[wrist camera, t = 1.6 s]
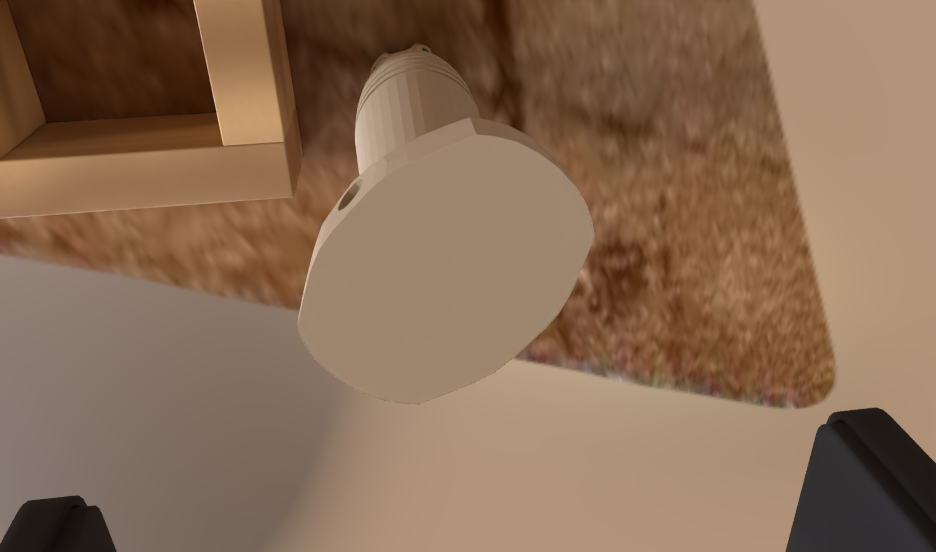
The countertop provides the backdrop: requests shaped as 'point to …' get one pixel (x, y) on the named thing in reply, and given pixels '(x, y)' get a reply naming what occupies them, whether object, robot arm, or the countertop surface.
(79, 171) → the socket block
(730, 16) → the countertop surface
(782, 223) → the countertop surface
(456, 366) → the handle
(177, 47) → the countertop surface
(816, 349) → the countertop surface
